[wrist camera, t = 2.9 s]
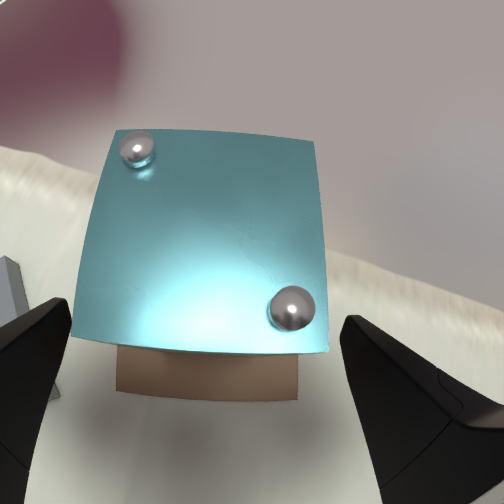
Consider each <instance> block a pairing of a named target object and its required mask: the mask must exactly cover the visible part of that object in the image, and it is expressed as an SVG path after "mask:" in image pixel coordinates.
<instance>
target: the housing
mask: <svg viewBox="0 0 504 504" xmlns="http://www.w3.org/2000/svg"><path fill="white" fill-rule="evenodd" d="M71 336H72V337H76V338H81V339H86V340H91V341H96V342H101V343H106V344H112V345H118V346H124V347H130V348H136V349H143V350H150V351H157V352H166V353H178V354H192V355H209V356H234V357H264V356H284V355H299V354H312V353H324V352H329V327H328V298H327V278H326V262H325V247H324V235H323V223H322V212H321V202H320V192H319V183H318V174H317V167H316V158H315V150H314V143H313V142H312V141H306V140H298V139H291V138H283V137H275V136H266V135H257V134H246V133H234V132H220V131H202V130H201V131H200V130H172V129H137V130H136V129H134V130H116V132H115V135H114V138H113V141H112V144H111V147H110V150H109V152H108V156H107V158H106V162H105V165H104V168H103V171H102V174H101V178H100V181H99V184H98V188H97V192H96V195H95V199H94V203H93V207H92V210H91V214H90V219H89V223H88V227H87V232H86V236H85V241H84V246H83V251H82V256H81V261H80V267H79V273H78V279H77V286H76V292H75V300H74V308H73V317H72V327H71Z"/></svg>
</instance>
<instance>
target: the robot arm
mask: <svg viewBox="0 0 504 504" xmlns="http://www.w3.org/2000/svg"><path fill="white" fill-rule="evenodd" d="M71 327H72V318H71V314H70V311H69V307H68V303H67V301H66V299H64V298H57V297H55V298H52V299H50V300H49V301H47V302H45V303H43V304H41V305H39V306H37V307H36V308H34V309H32V310H30V311H28V312H26V313H25V314H23V315H21V316H19V317H17V318H16V319H14V320H12V321H10V322H8V323H7V324H5V325H3V326H1V327H0V504H24V499H25V493H26V488H27V482H28V477H29V471H30V466H31V462H32V458H33V453H34V449H35V445H36V441H37V437H38V434H39V430H40V426H41V423H42V419H43V416H44V413H45V410H46V406H47V403H48V400H49V397H50V394H51V391H52V388H53V385H54V382H55V379H56V377H57V374H58V371H59V368H60V365H61V362H62V359H63V355H64V351H65V348H66V344H67V340H68V337H69V333H70V330H71ZM340 345H341V350H342V355H343V360H344V365H345V370H346V375H347V379H348V383H349V386H350V390H351V393H352V396H353V399H354V402H355V406H356V409H357V412H358V415H359V419H360V422H361V425H362V429H363V432H364V436H365V439H366V443H367V446H368V450H369V453H370V457H371V460H372V464H373V468H374V471H375V475H376V479H377V483H378V486H379V489H380V490H379V491H380V495H381V499H382V503H383V504H504V405H502V404H499V403H497V402H494V401H493V400H491V399H489V398H487V397H486V396H484V395H482V394H480V393H478V392H477V391H475V390H473V389H471V388H470V387H468V386H466V385H464V384H463V383H461V382H459V381H458V380H456V379H454V378H453V377H451V376H450V375H448V374H447V373H445V372H444V371H442V370H441V369H439V368H437V367H436V366H435V365H433V364H432V363H430V362H429V361H427V360H426V359H424V358H423V357H421V356H420V355H418V354H417V353H415V352H414V351H412V350H411V349H410V348H408V347H407V346H405V345H404V344H402V343H401V342H399V341H398V340H396V339H395V338H393V337H392V336H390V335H389V334H387V333H386V332H384V331H383V330H381V329H380V328H378V327H377V326H375V325H374V324H372V323H371V322H369V321H368V320H366V319H365V318H363V317H362V316H360V315H348V316H347V317H346V319H345V322H344V325H343V328H342V330H341V333H340Z"/></svg>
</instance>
